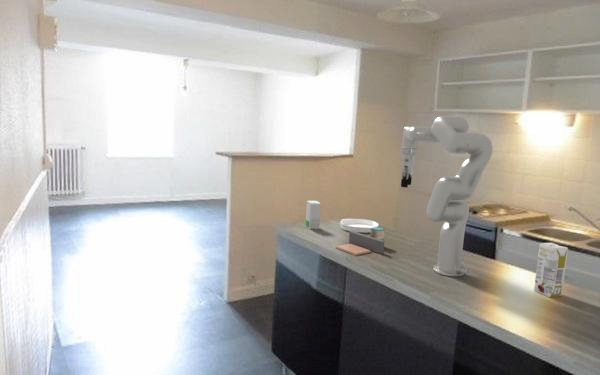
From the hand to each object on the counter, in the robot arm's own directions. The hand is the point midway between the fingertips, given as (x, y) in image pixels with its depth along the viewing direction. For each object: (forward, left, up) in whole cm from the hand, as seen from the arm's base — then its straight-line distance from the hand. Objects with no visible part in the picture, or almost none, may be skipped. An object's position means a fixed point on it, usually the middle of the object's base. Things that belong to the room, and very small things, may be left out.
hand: (405, 185), depth 213 cm
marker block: (+9, +9, -32) cm, 34 cm away
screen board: (+9, +17, -32) cm, 37 cm away
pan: (+40, -10, -32) cm, 52 cm away
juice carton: (-70, 0, -32) cm, 77 cm away
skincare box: (+55, +14, -32) cm, 65 cm away
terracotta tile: (+9, +26, -32) cm, 42 cm away
